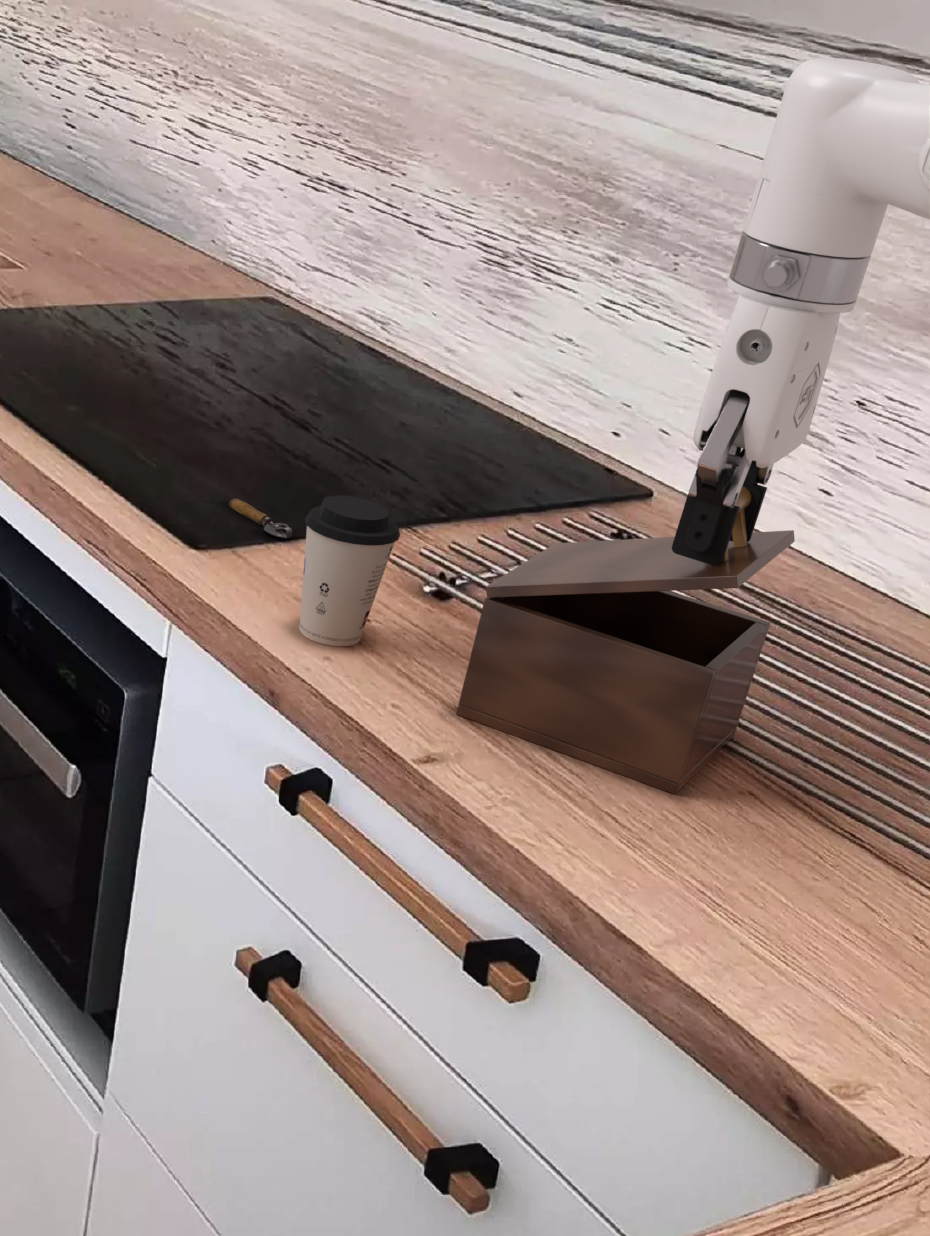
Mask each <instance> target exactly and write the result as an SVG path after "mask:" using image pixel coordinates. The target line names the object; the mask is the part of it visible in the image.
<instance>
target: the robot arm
mask: <svg viewBox="0 0 930 1236" xmlns="http://www.w3.org/2000/svg"><path fill="white" fill-rule="evenodd" d="M772 127H773V128H772V130H771V134H770V138H769V141H768V145H767V148H766V151H765V154H764V158H763V160H762V165H761V168H760V171H759V175H758V178H757V181H756V184H755V188H754V191H753V195H752V198H751V202H750V204H749V208H748V211H747V214H746V219H745V222H744V225H743V229H742V231H741V234H740V237H739V241H738V245H737V247H736V251H735V255H734V258H733V261H732V265H731V268H730V271H729V275H728V277H727V280H726V286H727V288H728V289H730V290H731V291H733V292H735V293H736V294H739V295H738V298H737V301H736V303H735V305H734V308H733V311H732V314H731V316H730V319H729V322H728V324H727V325H726V327H725V333H724V336H723V339H722V342H721V344H720V346H719V350H718V353H717V356H716V359H715V361H714V364H713V368H712V371H711V374H710V376H709V380H708V383H707V386H706V389H705V392H704V396H703V399H702V402H701V405H700V408H699V413H698V416H697V419H696V424H695V428H694V433H693V441H692V442H693V443H694V445H695V447H696V449H698V450H699V451H700V452H701V453H700V455H699V458H698V460H697V466H696V467H697V468H696V470H695V473H694V476H693V479H692V481H691V484H690V487H689V490H688V493H687V495H686V499H685V502H684V505H683V508H682V512H681V514H680V519H679V521H678V524H677V528H676V531H675V535H674V537H675V538H674V541H673V544H672V551H673V552H674V553H675V554H678V555H681V556H684V557H688V558H691V559H694V560H697V561H700V562H704V563H707V564H710V565H713V566H717V565H719V564H720V563H721V562H722V561H723V559H724V556H725V553H726V550H727V546H728V543H729V541H732V542H733V533H732V531H733V528H734V525H735V521H736V518H737V515H738V512H739V509H740V507H738V506H735V503H736V501H737V498H738V496H739V493H740V491H741V488H742V486H743V487H745V488H747V489H748V490H749V492H750V494H751V502H750V504H749V505H748V506H747V507H746V508H744V511H745V523H746V535H747V542H749V541H750V539H751V536H752V533H753V532H754V530H755V527H756V524H757V522H758V518H759V514H760V512H761V508H762V506H763V502H764V499H765V496H766V493H767V490H768V487H767V486H766V485H767V484H768V482H769V481H770V478H771V476H772V472H773V468H774V464H775V463H778V462H779V461H781V460H782V459H783V458H785V457H786V456H788V455H789V454H791V453H792V452H793V451H795V450H796V449H797V448H799V447H800V446H801V445H802V444H803V443H804V442H805V441H806V438H807V437H808V434H809V431H810V428H811V425H812V421H813V418H814V416H815V415H814V414H815V411H816V408H817V405H818V401H819V396H820V393H821V389H822V387H823V382H824V379H825V376H826V372H827V369H828V365H829V362H830V357H831V354H832V350H833V346H834V343H835V339H836V335H837V330H838V326H839V322H840V317H841V313H842V314H845V313H849V312H851V311H853V310H854V309H855V305H856V303H857V300H858V296H859V293H860V291H861V287H862V284H863V281H864V278H865V275H866V273H867V269H868V266H869V263H870V260H871V257H872V254H873V251H874V248H875V245H876V242H877V240H878V236H879V233H880V230H881V227H882V224H883V221H884V218H885V215H886V212H887V209H888V206H889V205H890V206H892V207H895V208H898V209H900V210H903V211H906V212H908V213H911V214H913V215H916V216H918V217H921V218H924V219H927V220H930V84H925V83H920V81H919V80H918V79H917V77H916V76H915V75H912V74H911V73H909V72H908V71H905V70H903V69H899V68H896V67H893V66H889V65H885V64H880V63H875V62H870V61H863V60H858V59H857V60H856V59H849V58H839V57H817V58H816V57H815V58H811V59H808V60H805V61H804V62H801V63H800V64H799V65H798V66H797V67H796V68H795V69H794V70H793V72H792V73H791V74H790V76H789V78H788V80H787V83H786V86H785V87H784V91H783V94H782V98H781V101H780V104H779V108H778V111H777V115H776V118H775V121H774V124H773V126H772Z"/></svg>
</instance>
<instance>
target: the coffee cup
mask: <svg viewBox="0 0 930 1236" xmlns="http://www.w3.org/2000/svg"><path fill="white" fill-rule="evenodd" d="M304 522H305V526H306V535H305V545H304V546H305V547H304V560H303V561H304V562H303V573H302V575H303V576H302V585H301V600H300V613H299V623H298V624H299V626H298V628H299V633H300V634H301V635H303V637H305V638H306V639H308V640H310V641H313V642H316V643H319V644H321V645H326V646H331V647H332V646H333V647H349V646H354V645H357V644H359V642H360V640H361V638H362V635H363V633H364V629H365V626H366V624H367V621H368V618H369V615H370V612H371V609H372V607H373V604H374V602H375V599H376V595H377V593H378V590H379V588H380V584H381V582H382V579H383V576H384V573H385V571H386V568H387V565H388V562H389V559H390V557H391V554H392V551H393V548H394V545H395V543H396V542H397V541H399V539H400V537H401V533H400V529H399V525H398V523H397V522H396V520H394V519H392V518H391V517H390V512H389V510H388V509H387V508H386V507H385V506H383V505H381V504H379V503H376V502H374V501H370V500H368V499H364V498H360V497H356V496H352V495H329V496H325V497H324V498H323V500H322V503H321V505H317V506H315V507H313V508H311V509H310V511H308V514H307V515H306V517H305V519H304Z"/></svg>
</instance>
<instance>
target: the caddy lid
mask: <svg viewBox="0 0 930 1236" xmlns="http://www.w3.org/2000/svg"><path fill="white" fill-rule="evenodd" d="M750 502H751V494H750V492H749V490H748V489H747V488H745V487H743V486H742V488H741V491H740V493H739V496H738V498H737V501H736V503H735V506H738V507H740V509H739V512H738V515H737V518H736V521H735V525H734V528H733V531H732V533H733V542H732V541H729V543H728V546H727V550H726V553H725V556H724V559H723V561H722V562H721V563H720V564H719V565H717V566H713V565H710V564H707V563H704V562H700V561H697V560H694V559H691V558H688V557H684V556H681V555H678V554H675V553H674V552H673V551H672V544H673V541H674V538H675V536H662V537H645V538H629V539H628V538H627V539H626V538H625V539H611V540H590V541H575V542H573V541H572V542H555V543H553V544H551V545H550V546H549V547H547V548H545V549H543V550H542V551H540V552H538V553H537V554H536V555H534V556H533V557H531V558H529V559H528V560H526V561H524V562H523V563H521V564H520V565H518V566H516V567H515V568H513V569H511V570H510V571H508V572H507V573H505V574H503V575H502V576H500V577H499V578H497V579H495V580H494V581H492V582H490V583H489V584H487V585H486V586H485V592H486V598H487V597H488V598H491V597H518V596H544V595H570V594H597V593H623V592H649V591H671V592H675V591H696V590H698V591H699V590H725V589H726V590H727V589H728V590H729V589H738V588H739V587H741V586H742V585H744V583H746V582H747V581H749V579H751V578H752V577H753V576H754V575H756V574H757V573H758V572H759V571H760V570H762V569H763V568H764V567H765V566H767V565H768V564H769V563H770V562H772V560H774V559H775V558H776V557H778V556H779V555H780V554H781V553H783V552H784V551H785V550H786V549H788V548H789V547H790V546H791V545H792V544H794V543H795V541H796V540H795V530H794V529H791V530H789V529H788V530H778V531H777V530H774V531H755V532H754V531H753V533H752V536H751V539H750V541H749V542H747V535H746V523H745V511H744V508H746V507H747V506H748V505H749V504H750Z"/></svg>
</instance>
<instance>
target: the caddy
mask: <svg viewBox="0 0 930 1236" xmlns="http://www.w3.org/2000/svg"><path fill="white" fill-rule="evenodd" d="M483 600H484V601H483V604H482V609H481V613H480V617H479V621H478V625H477V627H476V632H475V637H474V642H473V645H472V649H471V653H470V656H469V660H468V665H467V668H466V673H465V676H464V679H463V680H464V681H463V685H462V688H461V693H460V697H459V700H458V705H457V708H456V715H457V716H460V717H462V718H465V719H468V720H470V721H473V722H476V723H480V724H482V725H484V726H487V727H490V728H492V729H496V730H498V731H501V732H503V733H507V734H509V735H511V736H514V737H517V738H520V739H523V740H526V741H528V742H530V743H534V744H536V745H538V746H542V747H545V748H547V749H550V750H553V751H556V752H559V753H560V754H564V755H566V756H569V757H571V758H575V759H577V760H580V761H583V762H586V763H589V764H591V765H594V766H597V767H598V768H602V769H605V770H608V771H609V772H613V773H617V774H619V775H621V776H624V777H627V778H629V779H632V780H635V781H637V782H640V783H643V784H645V785H648V786H650V787H655V788H657V789H659V790H662V791H665V792H667V793H670V794H673V795H676V794H677V793H679V791H680V790H681V789H682V788H683V787H684V786H685V785H687V783H688V782H690V780H691V779H692V778H694V776H695V775H696V774H697V773H698V772H699V771H701V769H703V768H704V766H706V765H707V764H708V763H709V761H710V760H711V759H713V758H714V757H715V756H716V755H717V754H718V753H719V752H720V751H721V750H722V749H723V748H724V747H725V746H726V745H727V744H728V743H729V742H730V741H731V740H732V739H733V738H734V736H735V734H736V732H737V727H738V726H739V723H740V722H739V721H740V719H741V716H742V713H743V709H744V706H745V703H746V702H747V701H746V700H747V698H748V694H749V691H750V688H751V684H752V682H753V679H754V675H755V673H756V669H757V666H758V663H759V660H760V657H761V654H762V651H763V647H764V644H765V642H766V638H767V635H768V632H769V629H770V626H771V622H770V621H767V620H763V619H761V618H758V617H754V616H751V615H748V614H745V613H741V612H738V611H735V610H732V609H729V608H726V607H723V606H720V605H716V604H712V603H709V602H706V601H703V600H700V599H696V598H693V597H690V596H687V595H684V594H681V593H677V592H675V591H649V592H623V593H597V594H570V595H544V596H518V597H491V598H488V597H487V596H486V597H485V598H484V599H483Z"/></svg>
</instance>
